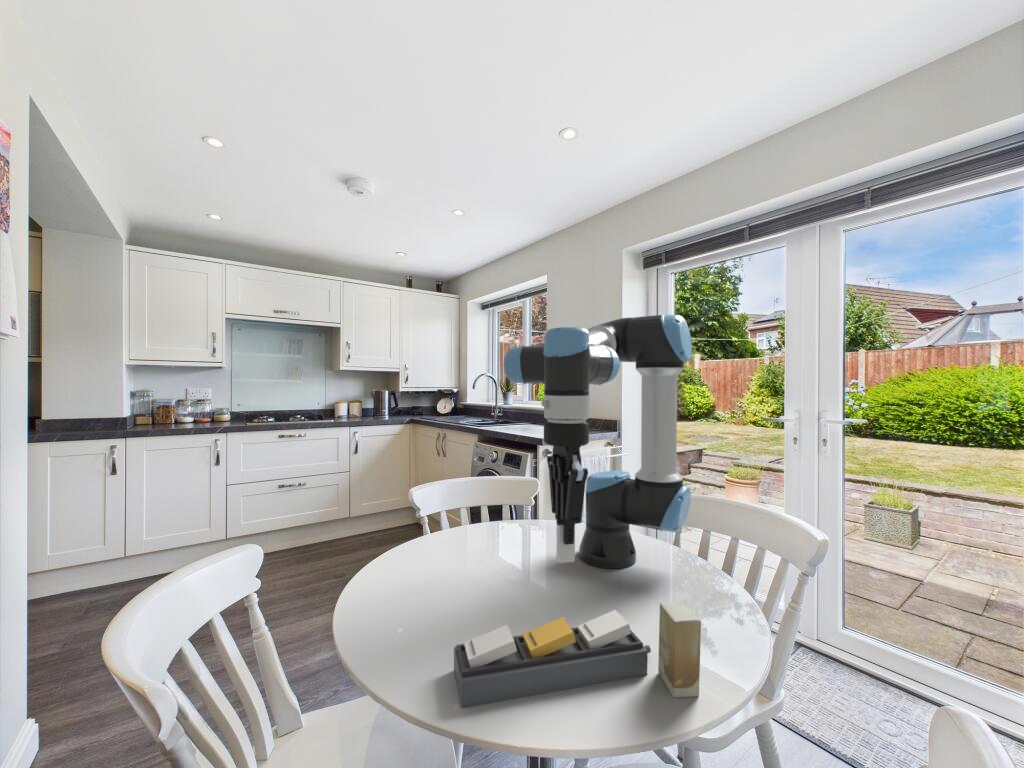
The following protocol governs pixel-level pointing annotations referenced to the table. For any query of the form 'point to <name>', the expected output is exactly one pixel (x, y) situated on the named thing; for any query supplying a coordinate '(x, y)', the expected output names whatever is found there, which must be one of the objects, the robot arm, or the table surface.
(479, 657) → the rocker
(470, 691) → the power strip
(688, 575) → the table surface
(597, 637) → the block
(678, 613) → the skincare box
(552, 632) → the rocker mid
